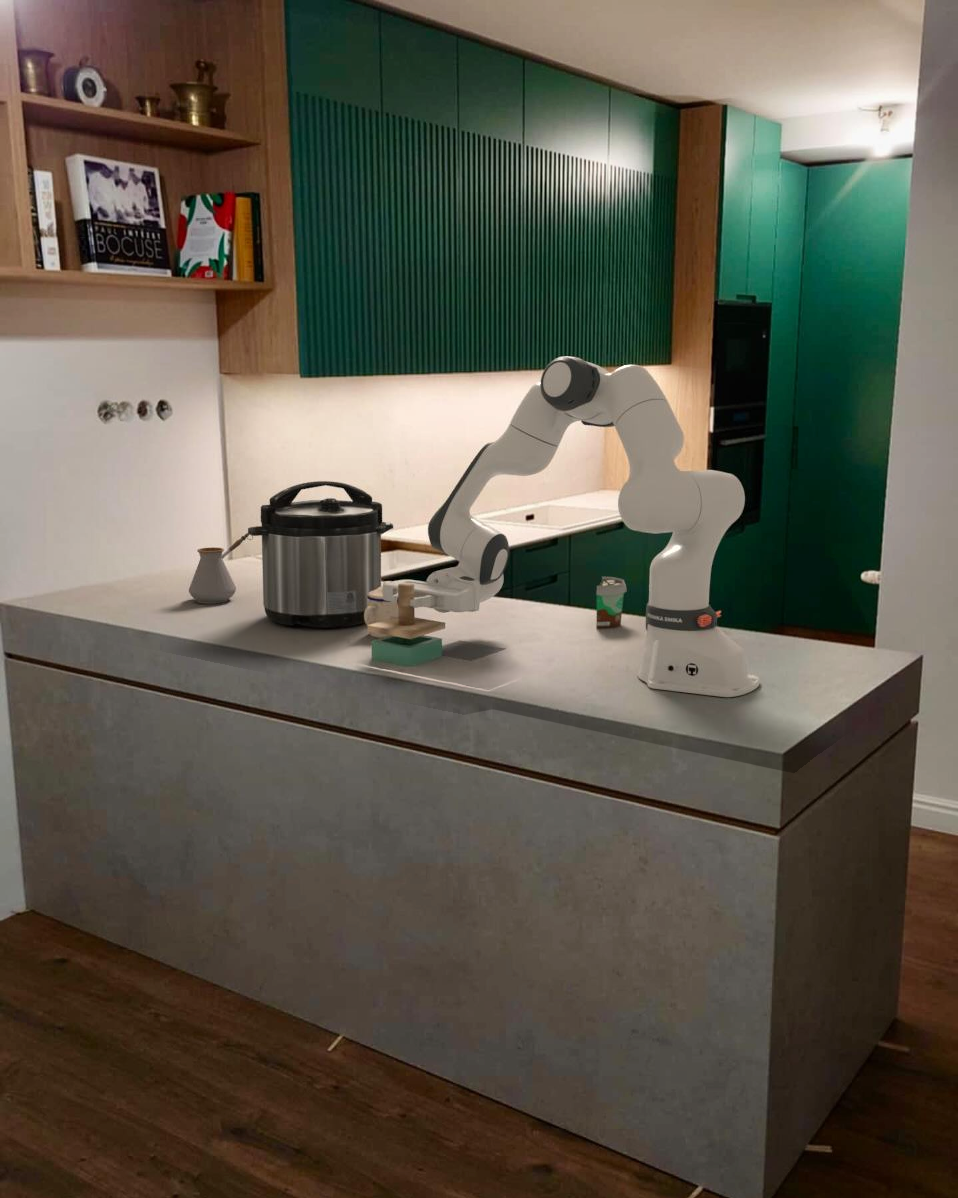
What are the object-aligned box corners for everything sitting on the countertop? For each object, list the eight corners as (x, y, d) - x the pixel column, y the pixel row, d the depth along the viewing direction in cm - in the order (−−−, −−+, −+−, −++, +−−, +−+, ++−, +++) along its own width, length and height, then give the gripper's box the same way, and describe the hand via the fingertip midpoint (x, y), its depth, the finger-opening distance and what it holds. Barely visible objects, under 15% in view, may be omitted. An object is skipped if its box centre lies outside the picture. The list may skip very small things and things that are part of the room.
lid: (445, 628, 238) (445, 583, 236) (410, 639, 229) (409, 592, 227) (403, 621, 244) (402, 577, 242) (367, 631, 236) (366, 585, 234)
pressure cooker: (403, 608, 285) (401, 476, 279) (369, 635, 258) (366, 489, 252) (285, 602, 291) (280, 473, 285) (239, 628, 264) (233, 486, 258)
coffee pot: (216, 607, 286) (213, 545, 283) (179, 602, 291) (176, 542, 288) (270, 591, 305) (268, 533, 302) (234, 587, 310) (232, 530, 307)
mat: (505, 650, 245) (505, 648, 245) (471, 662, 235) (471, 660, 235) (459, 642, 252) (459, 640, 252) (424, 653, 242) (424, 651, 242)
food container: (623, 631, 261) (624, 587, 259) (595, 630, 263) (596, 586, 261) (628, 619, 273) (629, 576, 271) (601, 618, 274) (602, 575, 272)
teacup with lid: (386, 627, 265) (386, 576, 263) (418, 633, 260) (417, 580, 258) (350, 637, 256) (348, 584, 254) (381, 643, 251) (380, 589, 248)
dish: (442, 657, 239) (441, 638, 238) (410, 668, 231) (410, 648, 230) (403, 650, 245) (403, 631, 244) (371, 660, 237) (371, 641, 236)
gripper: (407, 570, 251) (363, 580, 240) (485, 581, 239) (443, 592, 228) (407, 599, 252) (364, 610, 241) (485, 611, 241) (443, 624, 230)
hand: (403, 601), depth 235 cm, fingers closed on lid, 3 cm apart
